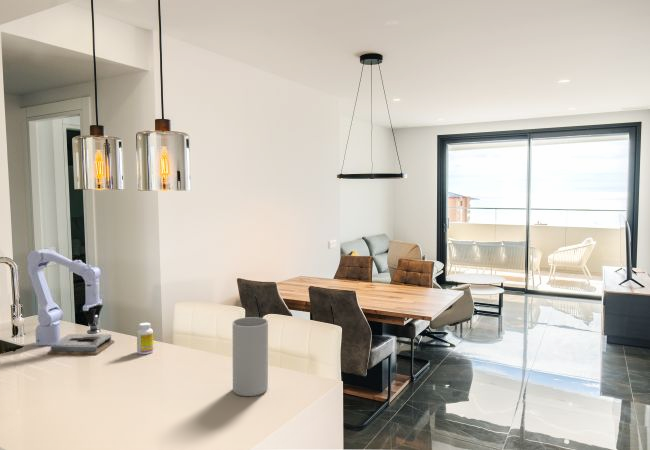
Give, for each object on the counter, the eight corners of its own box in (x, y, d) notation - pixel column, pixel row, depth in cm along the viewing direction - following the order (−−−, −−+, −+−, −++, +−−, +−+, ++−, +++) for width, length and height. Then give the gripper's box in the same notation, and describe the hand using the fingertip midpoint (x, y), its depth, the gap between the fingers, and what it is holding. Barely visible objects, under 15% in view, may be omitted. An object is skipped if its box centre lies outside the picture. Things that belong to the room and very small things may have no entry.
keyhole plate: (51, 351, 203) (50, 344, 203) (69, 340, 218) (69, 334, 218) (96, 351, 203) (95, 344, 203) (111, 340, 218) (111, 334, 218)
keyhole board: (47, 354, 202) (47, 352, 202) (68, 342, 219) (68, 340, 219) (97, 354, 203) (97, 352, 203) (114, 342, 220) (114, 340, 219)
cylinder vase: (273, 385, 173) (273, 318, 171) (259, 399, 161) (259, 328, 159) (242, 381, 176) (242, 316, 174) (226, 394, 164) (226, 325, 162)
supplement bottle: (156, 351, 207) (156, 323, 207) (143, 356, 202) (143, 326, 201) (146, 348, 211) (146, 321, 210) (134, 353, 205) (133, 324, 204)
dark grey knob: (84, 334, 213) (83, 317, 212) (90, 330, 219) (89, 313, 218) (97, 334, 213) (96, 316, 213) (102, 330, 219) (101, 313, 218)
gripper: (93, 296, 208) (94, 326, 208) (108, 290, 222) (108, 318, 223) (77, 296, 207) (78, 326, 208) (93, 290, 222) (93, 318, 223)
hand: (93, 322), depth 216 cm, fingers closed on dark grey knob, 4 cm apart
